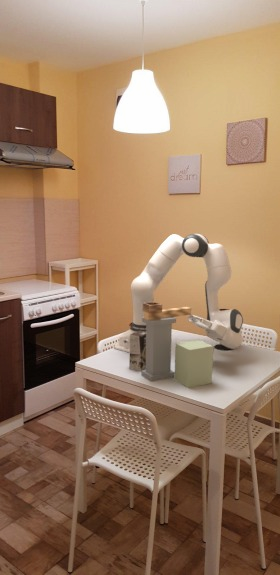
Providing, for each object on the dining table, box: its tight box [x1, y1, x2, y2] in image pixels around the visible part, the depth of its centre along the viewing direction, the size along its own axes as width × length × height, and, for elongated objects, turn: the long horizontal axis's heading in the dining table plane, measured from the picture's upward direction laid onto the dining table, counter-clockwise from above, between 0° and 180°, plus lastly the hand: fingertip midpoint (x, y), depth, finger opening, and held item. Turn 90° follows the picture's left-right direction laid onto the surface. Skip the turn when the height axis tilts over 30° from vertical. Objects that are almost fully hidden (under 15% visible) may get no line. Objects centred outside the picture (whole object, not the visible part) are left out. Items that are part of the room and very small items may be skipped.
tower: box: [140, 317, 177, 382], centre depth 191 cm, size 12×8×26 cm, turn 119°
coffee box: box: [128, 330, 146, 372], centre depth 203 cm, size 9×6×16 cm
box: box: [174, 339, 214, 389], centre depth 187 cm, size 12×10×16 cm
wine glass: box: [213, 308, 234, 351], centre depth 234 cm, size 10×10×20 cm
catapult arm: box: [142, 301, 192, 320], centre depth 191 cm, size 22×6×6 cm, turn 119°
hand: (195, 317), depth 199 cm, fingers open, 8 cm apart
